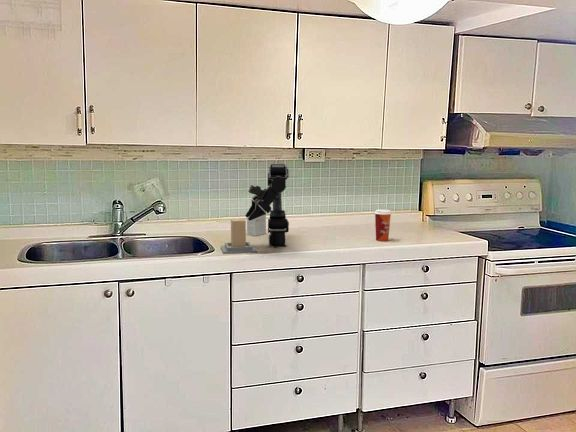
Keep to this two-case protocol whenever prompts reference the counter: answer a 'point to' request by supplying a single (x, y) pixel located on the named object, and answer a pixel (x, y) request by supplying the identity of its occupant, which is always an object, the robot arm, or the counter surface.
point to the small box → (256, 226)
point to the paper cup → (382, 224)
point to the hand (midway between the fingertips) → (247, 218)
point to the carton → (238, 233)
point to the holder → (238, 249)
